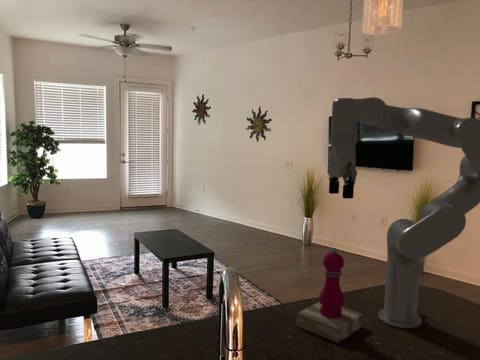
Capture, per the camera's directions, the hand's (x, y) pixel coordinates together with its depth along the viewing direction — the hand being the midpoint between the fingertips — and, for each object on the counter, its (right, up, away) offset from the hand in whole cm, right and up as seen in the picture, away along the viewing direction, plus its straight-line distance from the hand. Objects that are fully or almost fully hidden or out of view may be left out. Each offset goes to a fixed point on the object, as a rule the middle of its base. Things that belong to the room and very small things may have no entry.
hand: (340, 195), depth 127 cm
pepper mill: (-4, -35, -4) cm, 36 cm away
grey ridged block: (-4, -39, -3) cm, 39 cm away
